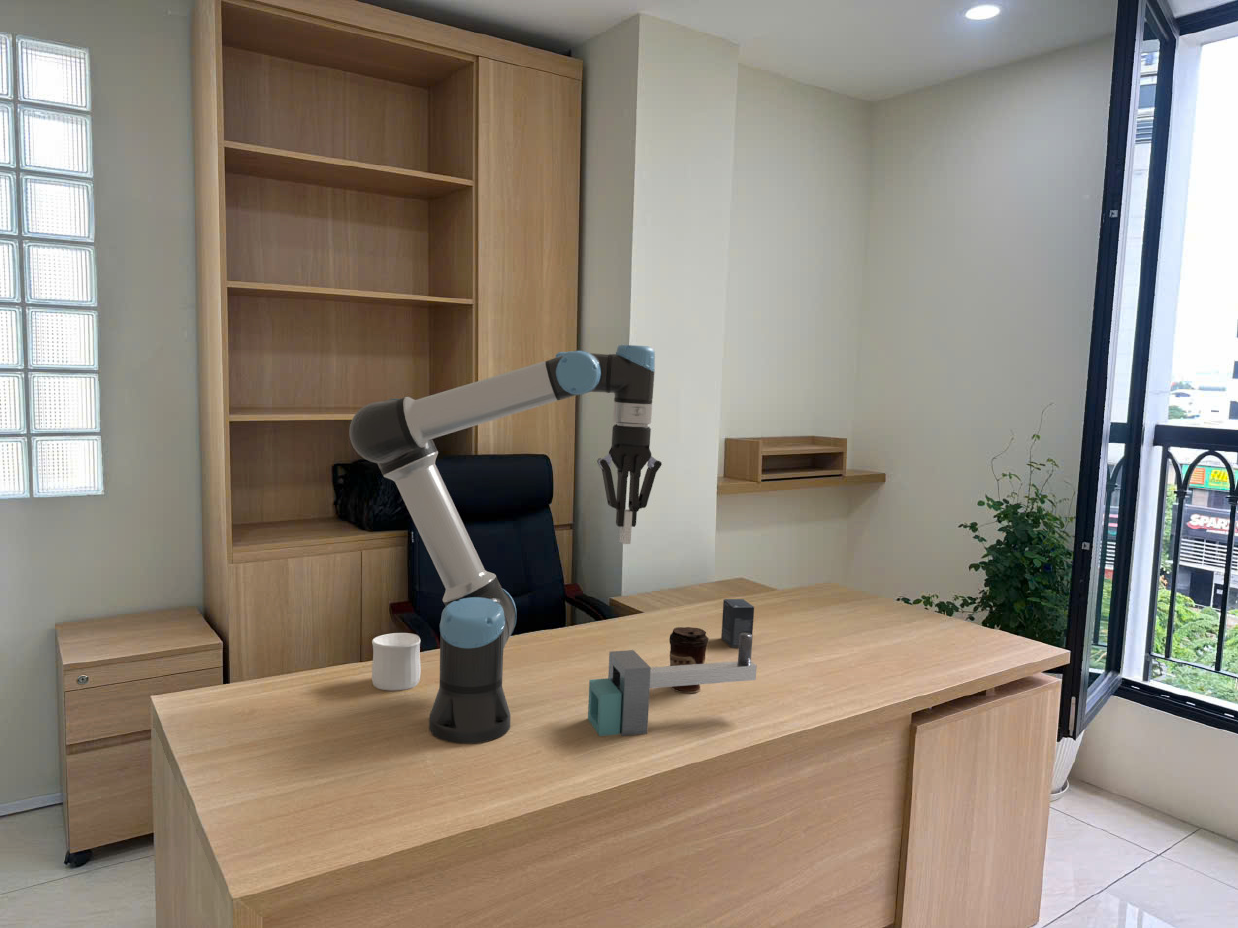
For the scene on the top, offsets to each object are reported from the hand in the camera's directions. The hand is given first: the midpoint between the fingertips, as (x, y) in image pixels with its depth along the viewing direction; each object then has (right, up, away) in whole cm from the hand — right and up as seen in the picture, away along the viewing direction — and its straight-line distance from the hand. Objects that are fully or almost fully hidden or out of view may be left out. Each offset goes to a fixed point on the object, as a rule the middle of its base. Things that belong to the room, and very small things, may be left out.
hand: (624, 542), depth 170 cm
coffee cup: (+13, -33, +15) cm, 39 cm away
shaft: (+13, -27, -1) cm, 31 cm away
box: (+29, -30, +48) cm, 64 cm away
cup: (-48, -31, +11) cm, 59 cm away
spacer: (-4, -35, -6) cm, 36 cm away
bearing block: (0, -35, -5) cm, 35 cm away
